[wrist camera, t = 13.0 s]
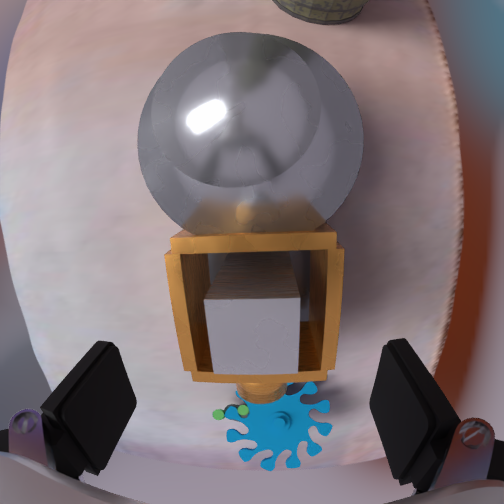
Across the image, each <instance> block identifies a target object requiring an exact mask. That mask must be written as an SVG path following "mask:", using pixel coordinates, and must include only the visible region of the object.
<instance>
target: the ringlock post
mask: <svg viewBox="0 0 504 504" xmlns="http://www.w3.org/2000/svg"><path fill="white" fill-rule="evenodd" d="M137 146H138V156H139V162H140V166H141V171H142V174H143V177H144V179H145V182H146V184H147V187H148V189H149V190H150V192H151V194H152V196H153V198H154V199H155V200H156V202H157V203H158V205H159V206H160V207H161V209H162V210H163V211H164V212H165V213H166V214H167V215H168V216H169V217H170V218H171V219H172V220H173V221H174V222H175V223H177V224H178V225H179V226H181V227H182V228H183V230H182V231H180V232H179V233H177V234H176V235H174V236H173V237H171V238H170V242H171V250H170V251H168V252H167V253H166V254H164V256H165V263H166V271H167V278H168V285H169V291H170V298H171V304H172V310H173V316H174V321H175V327H176V332H177V337H178V343H179V348H180V353H181V357H182V362H183V367H184V371H191V374H192V379H193V381H196V382H214V383H236V386H237V392H238V394H239V396H240V397H241V398H242V399H244V400H246V401H248V402H250V403H255V404H267V403H272V402H275V401H277V400H279V399H280V398H282V397H283V396H284V394H285V393H286V391H287V383H292V382H310V381H324V380H326V379H327V371H328V370H332V369H335V362H336V354H337V345H338V336H339V326H340V315H341V303H342V289H343V272H344V248H343V247H342V246H341V245H340V244H339V243H338V242H337V232H336V231H335V230H333V229H332V228H331V227H330V226H329V225H327V224H326V220H327V219H328V218H330V217H331V216H332V215H333V214H334V213H335V212H336V210H337V209H338V208H339V207H340V206H341V204H342V203H343V202H344V200H345V199H346V197H347V196H348V194H349V192H350V191H351V189H352V187H353V185H354V183H355V180H356V178H357V176H358V172H359V169H360V165H361V162H362V155H363V148H364V133H363V126H362V119H361V115H360V112H359V108H358V105H357V103H356V100H355V98H354V96H353V94H352V92H351V90H350V88H349V87H348V85H347V83H346V82H345V80H344V79H343V78H342V76H341V75H340V74H339V73H338V72H337V70H336V69H335V68H334V67H333V66H332V65H331V64H330V63H329V62H327V61H326V60H325V59H324V58H323V57H321V56H320V55H319V54H317V53H316V52H314V51H313V50H311V49H309V48H307V47H305V46H304V45H302V44H300V43H297V42H295V41H292V40H289V39H287V38H283V37H279V36H274V35H269V34H259V33H247V32H230V33H224V34H219V35H215V36H211V37H208V38H206V39H203V40H201V41H199V42H197V43H195V44H193V45H191V46H190V47H188V48H187V49H186V50H184V51H183V52H181V53H180V54H179V55H178V56H177V57H176V58H175V59H174V60H173V61H172V62H171V63H170V64H169V66H168V67H167V68H166V70H165V71H164V73H163V74H162V76H161V77H160V78H159V79H158V81H157V82H156V84H155V85H154V87H153V89H152V90H151V92H150V94H149V96H148V98H147V100H146V103H145V105H144V108H143V111H142V114H141V118H140V123H139V129H138V145H137ZM260 251H289V255H290V259H291V263H292V266H293V270H294V274H295V278H296V282H297V286H298V290H299V294H300V332H299V358H298V373H297V374H267V375H236V374H214V371H213V364H212V358H211V351H210V344H209V337H208V329H207V321H206V314H205V305H204V298H205V296H206V294H207V292H208V291H209V289H210V287H211V285H212V283H213V281H214V279H215V277H216V275H217V273H218V271H219V269H220V267H221V266H222V264H223V262H224V260H225V258H226V256H227V254H228V253H229V252H260Z"/></svg>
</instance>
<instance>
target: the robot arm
mask: <svg viewBox="0 0 504 504" xmlns="http://www.w3.org/2000/svg"><path fill="white" fill-rule="evenodd" d="M136 404H137V400H136V397H135V394H134V392H133V389H132V386H131V384H130V381H129V378H128V376H127V373H126V370H125V367H124V364H123V361H122V358H121V355H120V352H119V349H118V348H117V347H116V346H115V345H114V344H113V343H112V342H107V341H97V342H96V343H95V344H94V345H93V346H92V348H91V349H90V350H89V351H88V352H87V353H86V354H85V355H84V356H83V358H82V359H81V360H80V361H79V362H78V363H77V364H76V366H75V367H74V368H73V369H72V370H71V371H70V372H69V374H68V375H67V376H66V377H65V378H64V379H63V381H62V382H61V383H60V384H59V385H58V386H57V388H56V389H55V390H54V391H53V392H52V394H51V395H50V396H49V397H48V398H47V400H46V401H45V402H44V403H43V404H42V406H41V407H40V408H41V410H42V411H43V414H42V415H40V414H39V413H38V412H37V411H36V410H33V409H24V410H21V411H19V412H17V413H16V414H14V416H13V417H12V418H11V420H10V422H9V429H5V430H1V431H0V504H148V503H144V502H140V501H137V500H133V499H129V498H126V497H123V496H120V495H116V494H113V493H110V492H108V491H105V490H102V489H99V488H96V487H93V486H91V485H89V484H86V483H85V481H84V478H83V474H82V473H83V471H84V470H85V471H86V472H89V473H92V474H94V475H97V476H98V475H99V473H100V471H101V470H104V469H105V467H106V465H107V463H108V461H109V459H110V457H111V455H112V453H113V451H114V449H115V447H116V445H117V443H118V441H119V439H120V437H121V435H122V433H123V431H124V429H125V427H126V425H127V423H128V421H129V419H130V417H131V416H132V414H133V412H134V410H135V408H136ZM370 410H371V413H372V415H373V418H374V421H375V424H376V427H377V430H378V432H379V435H380V438H381V441H382V444H383V447H384V450H385V453H386V456H387V459H388V463H389V466H390V469H391V472H392V475H393V478H394V479H398V480H399V483H400V485H404V484H408V483H411V482H412V483H413V486H414V488H415V490H414V492H413V493H412V495H411V497H407V498H404V499H400V500H396V501H393V502H389V503H385V504H504V441H500V440H496V439H495V433H494V430H493V428H492V426H491V425H490V424H489V423H488V422H486V421H485V420H483V419H480V418H467V419H465V420H463V421H462V422H461V420H460V419H459V417H458V416H457V414H456V412H455V411H454V409H453V407H452V406H451V404H450V403H449V401H448V400H447V398H446V396H445V395H444V393H443V392H442V390H441V389H440V387H439V386H438V384H437V383H436V381H435V380H434V378H433V377H432V375H431V374H430V373H429V371H428V370H427V368H426V367H425V366H424V364H423V363H422V361H421V360H420V358H419V357H418V355H417V354H416V353H415V351H414V350H413V348H412V347H411V346H410V344H409V343H408V341H407V340H406V339H405V338H402V339H395V340H390V341H388V343H387V345H384V346H383V349H382V353H381V358H380V362H379V367H378V371H377V375H376V379H375V383H374V387H373V390H372V394H371V397H370Z"/></svg>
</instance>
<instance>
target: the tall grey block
mask: <svg viewBox="0 0 504 504" xmlns="http://www.w3.org/2000/svg"><path fill="white" fill-rule="evenodd" d="M204 305H205V314H206V321H207V329H208V337H209V344H210V351H211V358H212V364H213V371H214V374H236V375H267V374H297V373H298V358H299V332H300V294H299V290H298V286H297V282H296V278H295V274H294V270H293V266H292V263H291V259H290V255H289V251H260V252H229V253H228V254H227V256H226V258H225V260H224V262H223V264H222V266H221V267H220V269H219V271H218V273H217V275H216V277H215V279H214V281H213V283H212V285H211V287H210V289H209V291H208V292H207V294H206V296H205V298H204Z"/></svg>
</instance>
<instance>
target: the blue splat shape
mask: <svg viewBox="0 0 504 504" xmlns="http://www.w3.org/2000/svg"><path fill="white" fill-rule="evenodd" d="M293 383H294V382H292V383H287V386H288V385H291V384H293ZM317 391H318V389H317V387H316V385H315V384H314V383H313V382H312V381H310V382H307V383H306V384H305V385H304V387H303V388H302V389H301V390H300V391H299V392H298V393H296V394H293V395H290V396H288V395H286V394H284V396H283V397H282V398H280V399H279V400H277V401H275V402H272V403H267V404H253V403H250V402H248V401H246V400H244V399H242V398H241V397H240V396H239V394H238V392H237V391H236V395H237V396H238V397H239V398H241V399H242V400H243V401H244V402H245V403H246V404H247V405H241V406H239V405H235V404H230V405H228V406H227V407H226V408H225V410H222V409H219V410H215V411H214V412H213V417H214V418H215V419H216V420H221V419H223V418H225V417H226V418H228V419H230V420H235V421H239V422H242V423H243V424H245V425H246V426H247V427H248V429H249V432H248V433H247V434H241V433H239V432H238V431H237V430H235V429H229V430H227V441H228V442H235V441H237V440H241V439H248V440H253V441H255V442H256V443H257V447H256V448H255V449H249V448H242V449H241V450H240V451H239V452H238V453H239V455H240V457H241V458H242V460H243V461H244V462H247V461H249V460H250V459H251V458H252V457H253V456H254V455H255V454H256V453H258V452H260V451H263V450H267V449H269V450H272V451H273V455H272V456H271V457H269V458H265V459H263V460H262V461H261V465H260V466H261V467H262V468H263V469H266V470H268V471H272V470H273V469H274V468H275V461H276V458H277V457H278V455H279V454H280V453H281V452H282V451H284V450H286V449H288V450H291V451H292V454H291V456H290V457H289V458H288V459H287V460H286V466H287V468H297V467H300V464H301V463H300V460H299V459H298V457H297V447H298V444H299V443H300V442H301V441H307V442H308V446H307V453H308V454H309V455H310V456H315V455H317V454H318V453H319V452H321V451H322V448H321V446H319V445H318V444H316V443H314V442H313V441H312V440H311V438H310V436H309V434H308V429H309V428H310V427H311V426H316V427H317V429H318V432H319V433H320V434H321V435H323V436H327V435H328V434H329V433H330V431H331V429H332V425H331V424H329V423H319V422H316V421H314V420H313V419H311V418H310V417H309V411H310V410H311V409H316V410H318V411H319V412H321V413H328V412H329V410H330V404H329V401H328V400H322V401H320V402H318V403H316V404H312V405H307V404H302V403H301V402H300V396H301V395H302V394H309V395H311V394H315V393H316V392H317Z"/></svg>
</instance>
